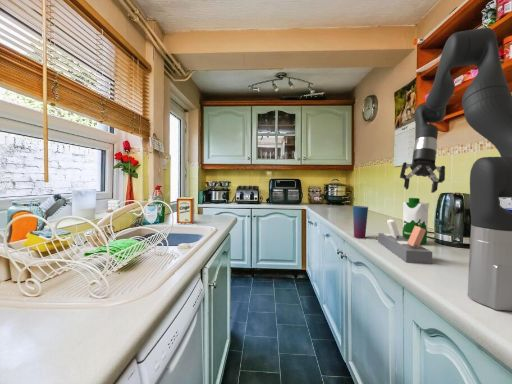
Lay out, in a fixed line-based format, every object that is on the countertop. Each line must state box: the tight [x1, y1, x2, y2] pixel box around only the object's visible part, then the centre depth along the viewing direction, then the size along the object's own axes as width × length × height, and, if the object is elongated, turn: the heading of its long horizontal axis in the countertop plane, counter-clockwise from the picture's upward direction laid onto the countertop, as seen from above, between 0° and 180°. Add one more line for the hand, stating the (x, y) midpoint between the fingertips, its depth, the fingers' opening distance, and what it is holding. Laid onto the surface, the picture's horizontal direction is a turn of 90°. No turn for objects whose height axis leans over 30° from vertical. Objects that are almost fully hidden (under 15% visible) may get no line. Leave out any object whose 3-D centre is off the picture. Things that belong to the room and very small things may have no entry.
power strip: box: [377, 232, 433, 265], centre depth 101 cm, size 35×8×4 cm, turn 172°
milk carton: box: [402, 197, 430, 246], centre depth 111 cm, size 9×9×20 cm
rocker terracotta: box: [407, 226, 426, 248], centre depth 88 cm, size 4×2×7 cm, turn 172°
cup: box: [352, 205, 369, 240], centre depth 121 cm, size 7×7×15 cm
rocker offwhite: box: [386, 219, 401, 239], centre depth 102 cm, size 4×2×7 cm, turn 172°
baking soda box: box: [176, 196, 195, 224], centre depth 157 cm, size 10×6×16 cm
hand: (419, 190), depth 95 cm, fingers open, 8 cm apart
